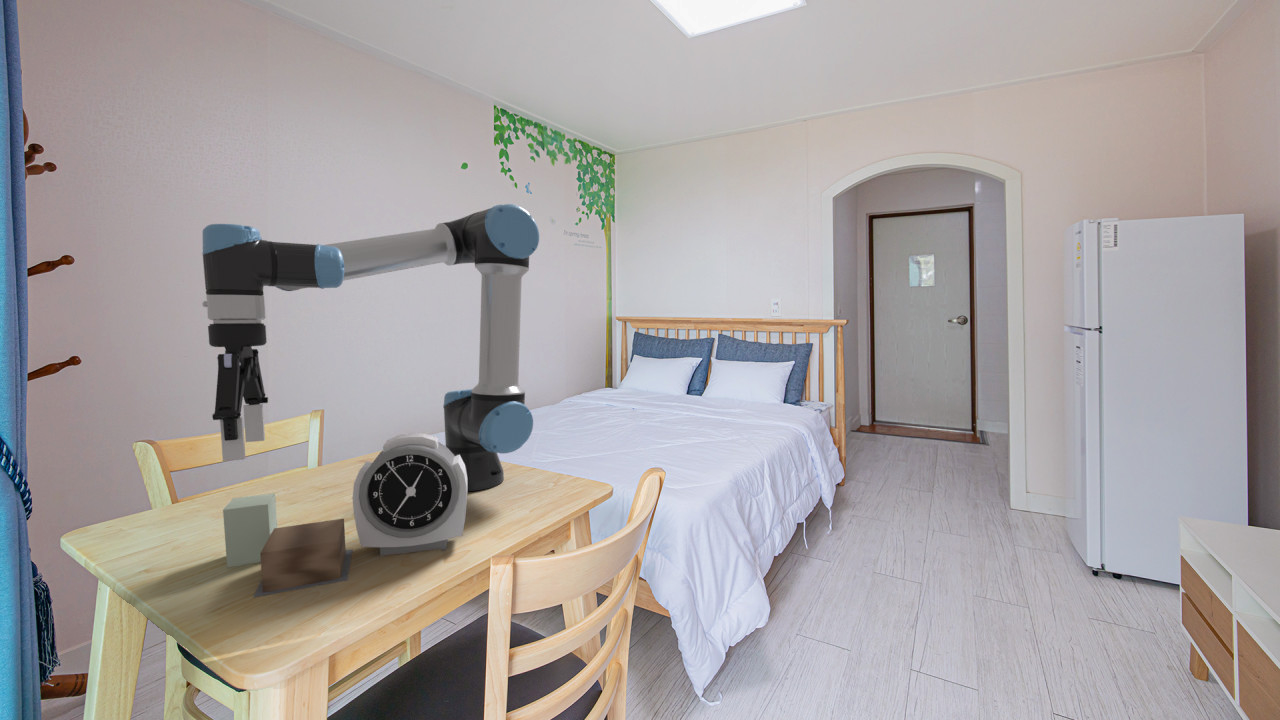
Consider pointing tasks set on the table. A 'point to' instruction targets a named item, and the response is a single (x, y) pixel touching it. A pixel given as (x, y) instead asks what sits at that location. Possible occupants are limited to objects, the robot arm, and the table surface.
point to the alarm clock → (410, 496)
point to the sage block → (248, 527)
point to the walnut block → (303, 555)
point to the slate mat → (343, 578)
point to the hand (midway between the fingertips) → (245, 450)
